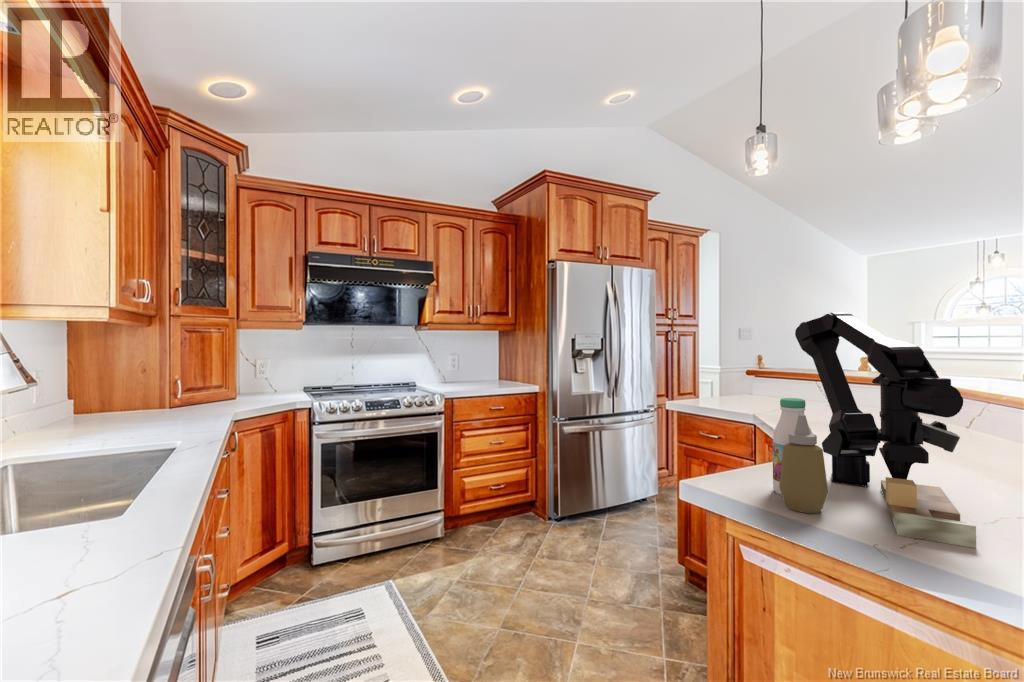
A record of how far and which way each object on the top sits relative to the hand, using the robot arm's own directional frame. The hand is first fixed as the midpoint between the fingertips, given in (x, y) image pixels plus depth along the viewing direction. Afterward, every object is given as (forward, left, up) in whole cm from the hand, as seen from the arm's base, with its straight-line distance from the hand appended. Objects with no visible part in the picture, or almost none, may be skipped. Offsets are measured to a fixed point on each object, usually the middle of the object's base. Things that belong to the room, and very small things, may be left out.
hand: (900, 488), depth 92 cm
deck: (+2, -5, -3) cm, 6 cm away
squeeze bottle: (-16, -12, -3) cm, 20 cm away
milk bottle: (-18, -3, -3) cm, 18 cm away
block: (-1, -7, -1) cm, 7 cm away
